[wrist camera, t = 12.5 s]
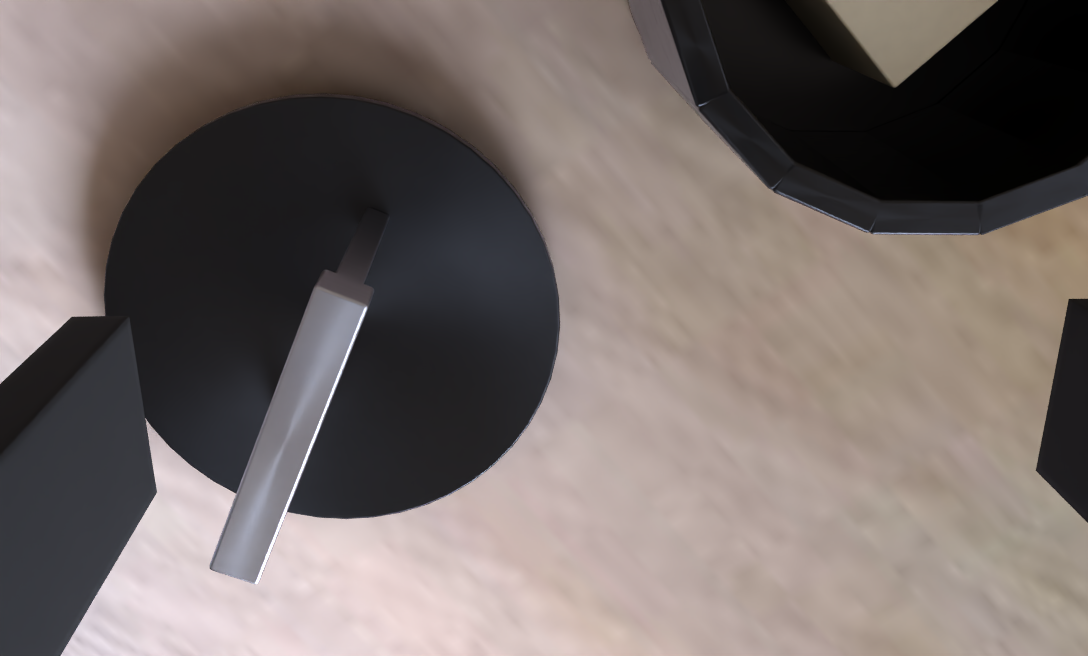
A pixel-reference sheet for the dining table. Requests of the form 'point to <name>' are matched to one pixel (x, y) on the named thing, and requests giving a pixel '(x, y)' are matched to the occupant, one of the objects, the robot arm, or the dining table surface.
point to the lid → (332, 312)
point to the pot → (890, 112)
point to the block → (886, 31)
